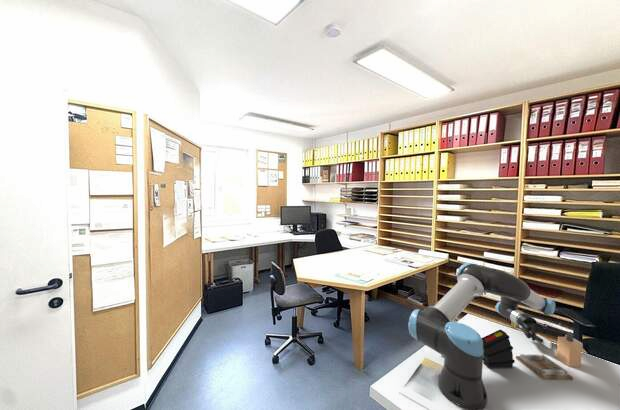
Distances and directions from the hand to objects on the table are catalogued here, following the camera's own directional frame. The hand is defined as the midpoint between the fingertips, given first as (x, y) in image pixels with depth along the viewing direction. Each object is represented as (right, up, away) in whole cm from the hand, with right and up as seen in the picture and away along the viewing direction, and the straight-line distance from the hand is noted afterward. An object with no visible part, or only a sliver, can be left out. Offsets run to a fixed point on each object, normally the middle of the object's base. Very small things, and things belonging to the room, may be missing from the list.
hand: (566, 346), depth 105 cm
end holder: (-16, -6, -6) cm, 18 cm away
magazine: (-35, -6, -5) cm, 36 cm away
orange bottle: (-1, -6, -2) cm, 7 cm away
